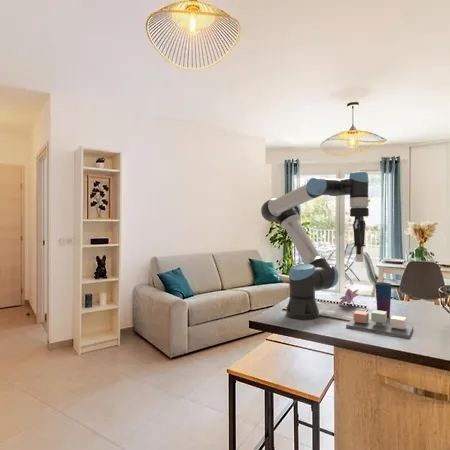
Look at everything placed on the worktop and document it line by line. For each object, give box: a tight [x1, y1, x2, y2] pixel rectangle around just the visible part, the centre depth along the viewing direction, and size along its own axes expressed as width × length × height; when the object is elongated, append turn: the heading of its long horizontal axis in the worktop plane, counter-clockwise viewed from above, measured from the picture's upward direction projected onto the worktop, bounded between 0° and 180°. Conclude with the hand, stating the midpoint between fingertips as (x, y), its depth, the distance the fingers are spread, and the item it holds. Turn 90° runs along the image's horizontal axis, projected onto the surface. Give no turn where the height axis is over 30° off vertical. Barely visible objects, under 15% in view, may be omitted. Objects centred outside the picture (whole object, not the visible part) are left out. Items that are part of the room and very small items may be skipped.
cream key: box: [389, 315, 407, 330], centre depth 131 cm, size 5×5×4 cm
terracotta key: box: [352, 309, 370, 323], centre depth 139 cm, size 5×5×4 cm
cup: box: [374, 281, 393, 319], centre depth 151 cm, size 7×7×15 cm
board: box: [345, 317, 414, 339], centre depth 135 cm, size 23×13×3 cm, turn 55°
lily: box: [338, 288, 359, 309], centre depth 169 cm, size 12×12×10 cm
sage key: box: [370, 309, 388, 323], centre depth 135 cm, size 5×5×4 cm
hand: (359, 261), depth 143 cm, fingers closed
